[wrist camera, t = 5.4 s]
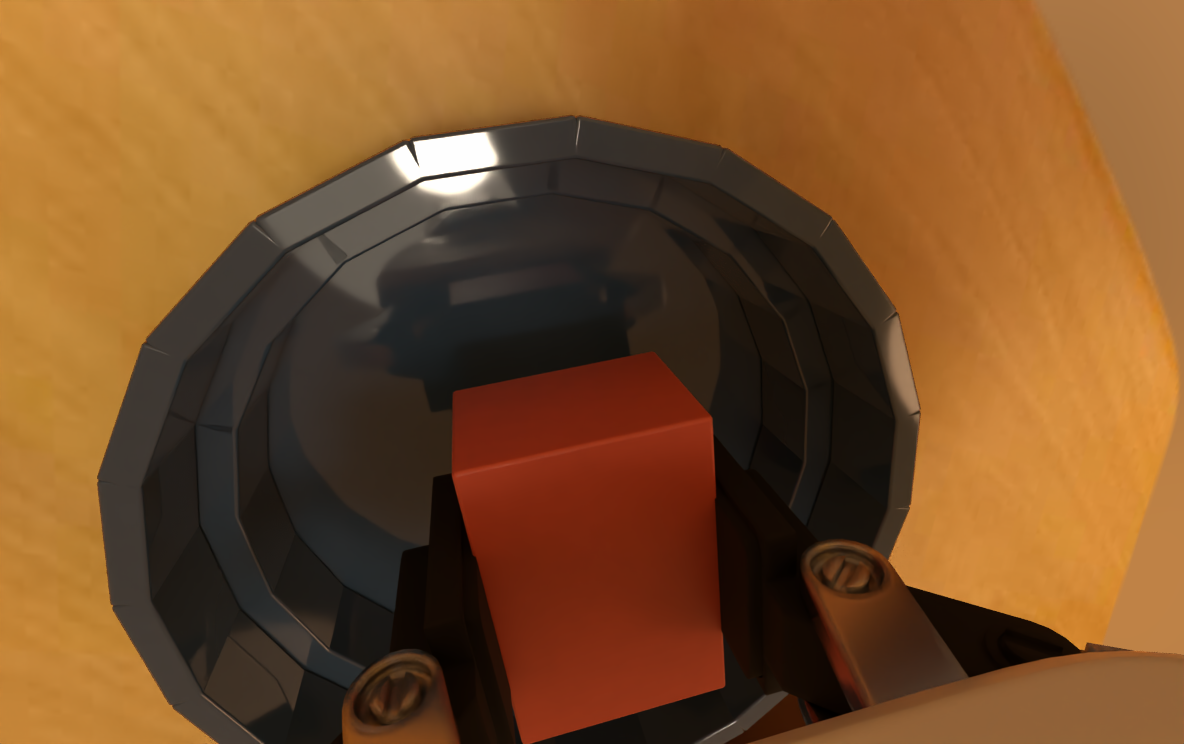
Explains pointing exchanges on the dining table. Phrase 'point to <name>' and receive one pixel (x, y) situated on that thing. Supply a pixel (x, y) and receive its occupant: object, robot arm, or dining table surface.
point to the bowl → (465, 360)
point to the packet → (593, 538)
